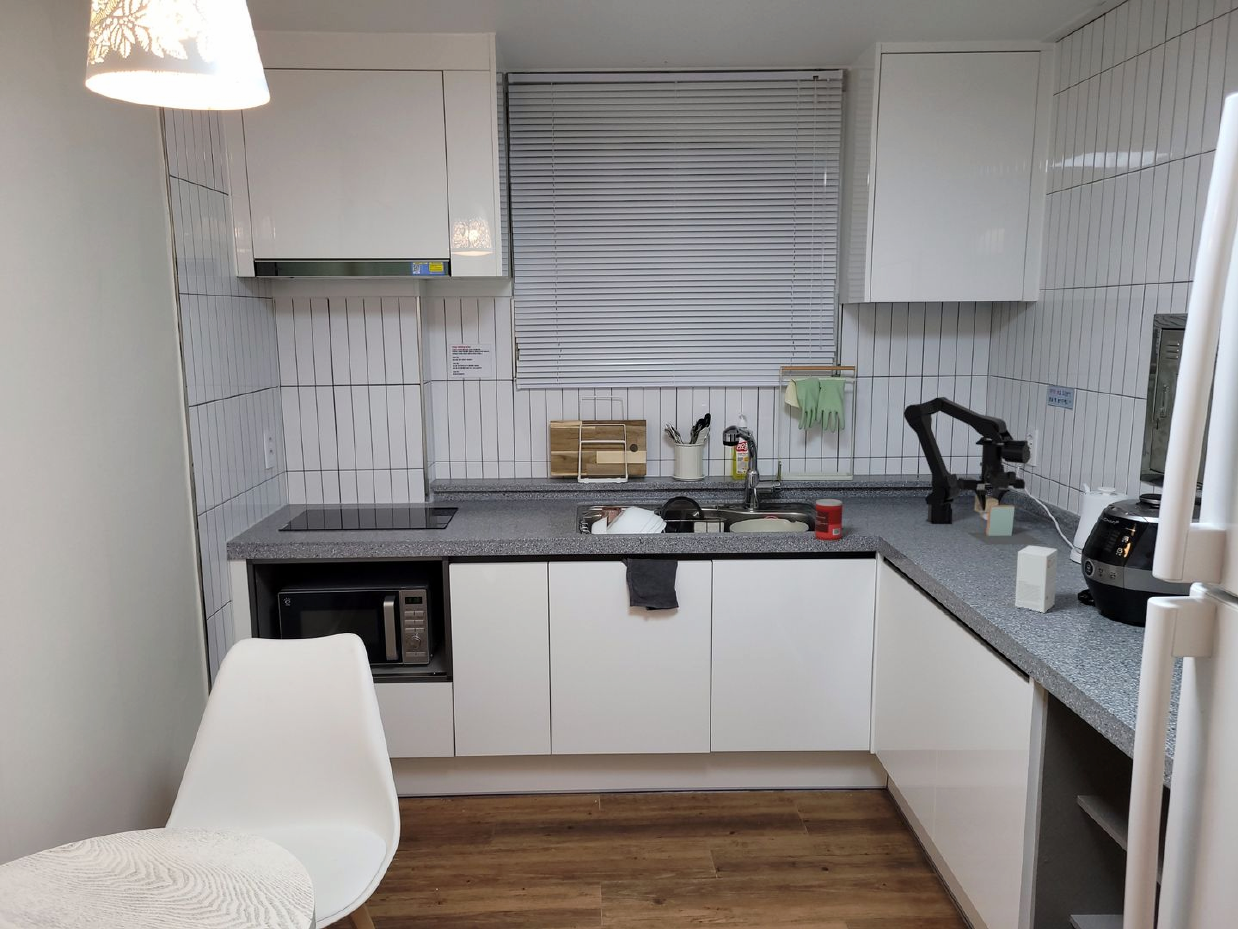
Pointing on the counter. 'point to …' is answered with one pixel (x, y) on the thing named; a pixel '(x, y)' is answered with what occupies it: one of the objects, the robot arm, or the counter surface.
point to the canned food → (828, 519)
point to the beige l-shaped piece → (988, 502)
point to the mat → (1007, 539)
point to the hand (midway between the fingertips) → (989, 511)
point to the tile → (1000, 520)
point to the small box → (1036, 578)
